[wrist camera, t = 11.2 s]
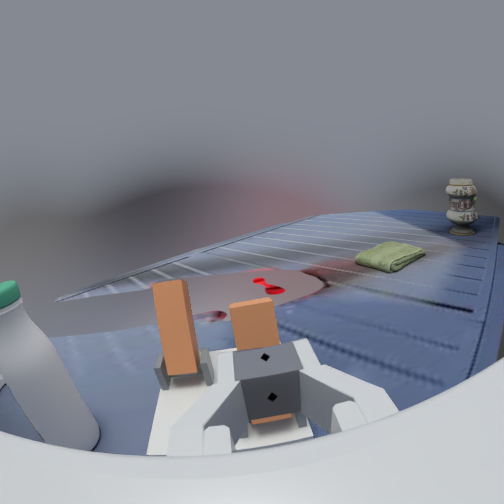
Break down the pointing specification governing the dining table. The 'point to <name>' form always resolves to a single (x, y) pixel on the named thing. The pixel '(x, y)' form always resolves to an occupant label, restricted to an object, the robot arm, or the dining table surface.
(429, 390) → the dining table surface
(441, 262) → the dining table surface
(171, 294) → the lever
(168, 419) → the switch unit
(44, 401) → the milk bottle
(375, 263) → the washcloth
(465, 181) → the apothecary jar
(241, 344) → the lever
